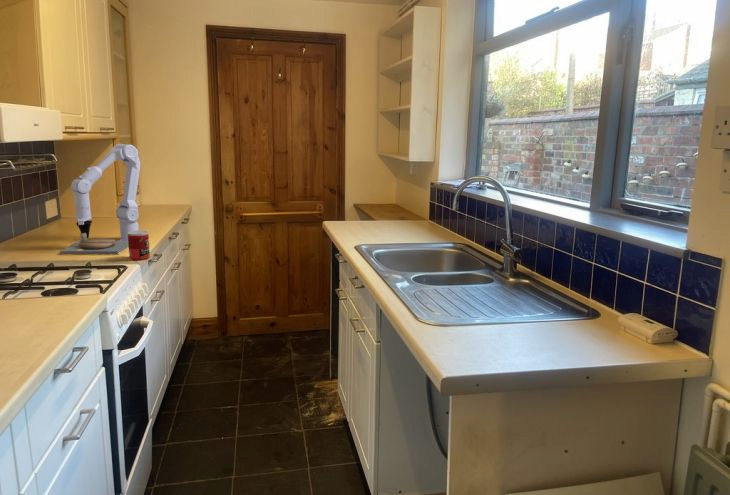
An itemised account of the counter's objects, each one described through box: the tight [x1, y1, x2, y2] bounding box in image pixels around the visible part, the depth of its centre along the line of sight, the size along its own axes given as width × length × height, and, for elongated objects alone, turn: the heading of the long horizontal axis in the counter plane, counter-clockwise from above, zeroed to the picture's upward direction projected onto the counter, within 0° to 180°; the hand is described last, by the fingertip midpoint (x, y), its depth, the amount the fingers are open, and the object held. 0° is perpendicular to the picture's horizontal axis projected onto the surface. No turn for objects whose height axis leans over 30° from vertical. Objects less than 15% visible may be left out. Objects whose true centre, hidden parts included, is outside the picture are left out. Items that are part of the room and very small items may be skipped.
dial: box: [79, 232, 116, 249], centre depth 239 cm, size 14×14×5 cm
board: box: [60, 240, 129, 255], centre depth 239 cm, size 19×23×2 cm
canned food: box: [128, 229, 151, 262], centre depth 226 cm, size 8×8×11 cm
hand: (85, 237), depth 241 cm, fingers closed
